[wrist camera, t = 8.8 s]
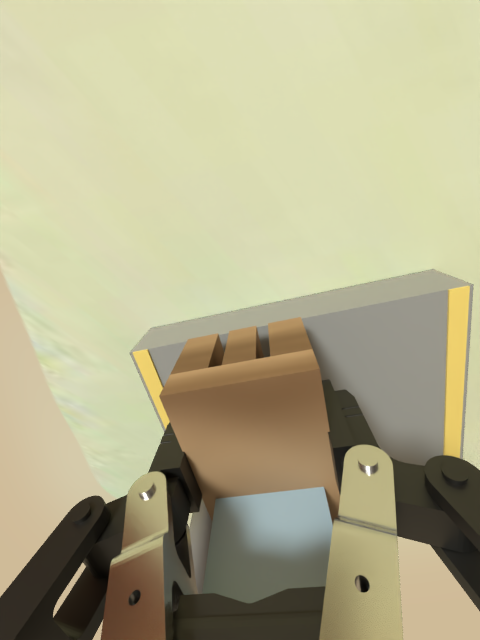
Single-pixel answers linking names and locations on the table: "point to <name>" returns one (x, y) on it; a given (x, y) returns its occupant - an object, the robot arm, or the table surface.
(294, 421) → the pallet
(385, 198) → the table surface
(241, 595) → the pale blue cube
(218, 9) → the table surface
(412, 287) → the dock
